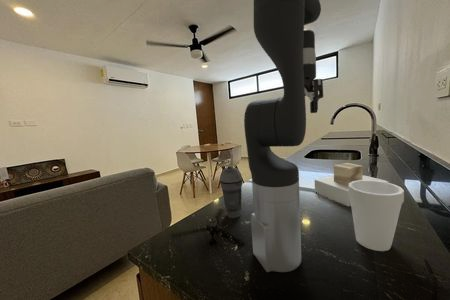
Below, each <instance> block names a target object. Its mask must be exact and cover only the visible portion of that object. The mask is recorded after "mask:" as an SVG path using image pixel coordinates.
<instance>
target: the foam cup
mask: <svg viewBox="0 0 450 300" xmlns="http://www.w3.org/2000/svg"><path fill="white" fill-rule="evenodd" d="M348 193H349V197H350V201H351V206H350V207H351V213H352V215H351V216H352V219H353V220H352V221H353V228H354V235H355V240H356V242H357V243H358V244H359V245H360V246H363V247H364V248H366V249H369V250H372V251H378V252H385V251H389V250H390V249H391V248H392V245H393V241H394V236H395V233H396V230H397V225H398V220H399V217H400V212H401V208H402V204H404V203H405V202H404V199H405V190H404V189H403V188H402V187H401V186H399V185H396V184H394V183H390V182H389V183H386V182H382V181H373V180H358V181H352V182H350V183H349V188H348Z"/></svg>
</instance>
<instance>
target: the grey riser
mask: <svg viewBox="0 0 450 300" xmlns="http://www.w3.org/2000/svg"><path fill="white" fill-rule="evenodd" d="M362 180H373V181H382V182H386V183H390V181H388V180H384V179H382V178H377V177H376V178H375V177H372V176H368V175H364V174H363V176H362ZM348 188H349V186H347V185H344V184H341V183H337V182H334V175H331V176H330V175H329V176H327V177H325V176H324V177H322V178H321V177H320V178H316V179H314V193H316V192H317V194H318V193H319V194H318V195H320V194H321V196H323V197H325V196H326V198H327V197H328V198H327V199H329V200H332V201H334V200H335V201H334V202H337V203H338V204H341V205H343V206H347V207H351V201H350V197H349V193H348Z"/></svg>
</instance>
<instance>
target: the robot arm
mask: <svg viewBox="0 0 450 300" xmlns="http://www.w3.org/2000/svg"><path fill="white" fill-rule="evenodd" d="M321 12H322V5H321V1H320V0H253V31H254V35H255V38H256V40H257V42H258V44H259V45H260V47H261V48H262V50H264V52H265V53H266V55H267V56H268V58H269V59H270V60H271V61H272V63H273V64H274V65H275V68H276V70H277V71H278V73H279V76H280V77H281V82H282V86H283V96H278V97H272V98H264V99H257V100H253V101H251V102H249V103H248V104H247V106H246V108H245V111H244V118H243V119H244V121H243V123H244V124H243V126H244V134H245V135H244V136H245V144H246V145H245V146H246V151H247V161H248V168H249V170H250V171H249V172H250V175H251V183H252V184H251V187H252V200H253V201H252V202H253V212H252V213H250V225H251V226H250V228H251V238H252V241H251V243H252V252H253V253H252V254H253V255H254V256H255V258H256V259H257V260H258V262H259V264H261V266H262V267H263V269H264V270H265V272H266V273H270V272H278V273H288V272H289V273H290V272H292V271H295V270H296V269H297V268H298V267H299V266H300V265H301V263H302V243H301V242H302V239H301V237H302V236H301V235H302V234H301V209H300V207H301V206H300V204H301V203H300V172H299V167H298V166H297V165H296V164H295V163H294V162H291V161H289V160H287V159H284V158H282V157H279V156H278V155H277V154H276V153H275V152H273V150H272V149H271V148H273V147H299V146H300V145H301V144H302V143H303V142H304V140H305V136H306V132H307V113H306V112H307V111H306V110H307V107H306V106H307V105H306V97H308V99H309V101H310V102H309V107H310V108H309V109H310V110H309V112H310V113H311V114H316V113H318V110H319V105H318V104H319V100H320V99H323V98H324V85H323V83H324V82H323V79H322V78H317V56H316V55H317V54H316V46H315V45H316V44H315V43H316V42H315V41H316V40H315V39H316V38H315V36H316V35H315V32H314V30H311V29H305V26H306V25H309V24H313V23H315V22H316V21H317V20H318V19H319V17H320V15H321Z"/></svg>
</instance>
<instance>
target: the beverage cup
mask: <svg viewBox="0 0 450 300" xmlns="http://www.w3.org/2000/svg"><path fill="white" fill-rule="evenodd" d="M233 157H234V156H233V153H230V166H228V167H226V168H224V169H223V170H222V171H221V172H220V175H219V176H220V177H219V184H220V187H221V190H222V196H223V201H224V208H225V212H226V216H227V217H228V218H231V219H236V218H239V217H241V215H242V186H243V181H244V180H243V176H242V173H241V171H240V170H239V169H238V168H236V167H235V166H233Z"/></svg>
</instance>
